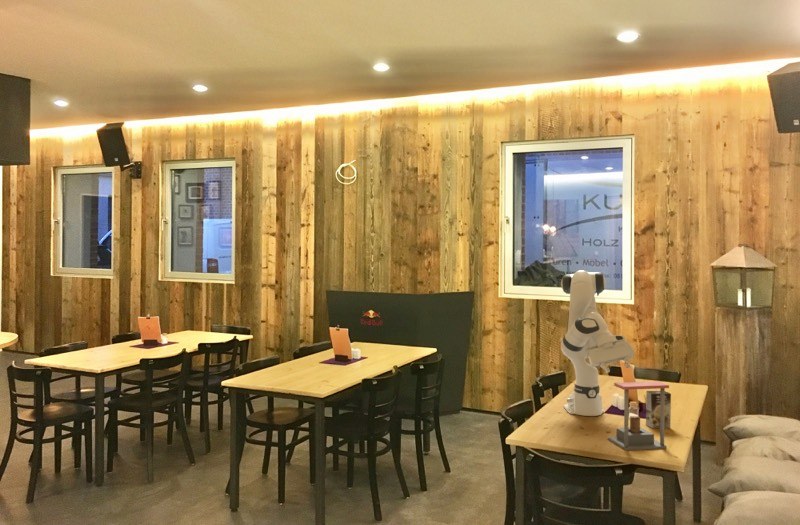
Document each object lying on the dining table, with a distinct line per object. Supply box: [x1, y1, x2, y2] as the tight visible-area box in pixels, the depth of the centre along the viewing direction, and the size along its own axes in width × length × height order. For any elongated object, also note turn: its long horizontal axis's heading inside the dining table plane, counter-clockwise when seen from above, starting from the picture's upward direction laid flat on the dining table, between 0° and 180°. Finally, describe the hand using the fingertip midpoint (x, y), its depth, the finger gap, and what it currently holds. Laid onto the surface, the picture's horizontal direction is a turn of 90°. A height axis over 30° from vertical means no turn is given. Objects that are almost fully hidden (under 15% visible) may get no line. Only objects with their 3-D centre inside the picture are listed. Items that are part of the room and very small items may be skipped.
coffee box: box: [645, 390, 672, 429], centre depth 286 cm, size 9×6×16 cm
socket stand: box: [607, 380, 670, 451], centre depth 260 cm, size 16×20×26 cm
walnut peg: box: [629, 415, 641, 433], centre depth 261 cm, size 4×4×10 cm
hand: (618, 369), depth 273 cm, fingers open, 8 cm apart
